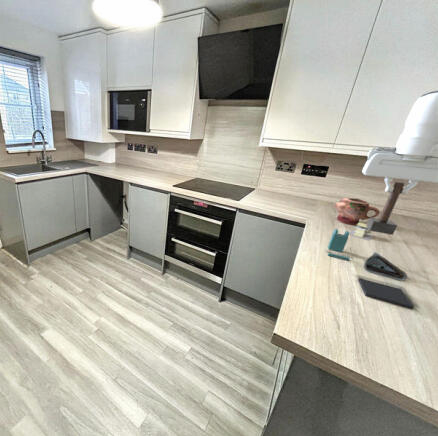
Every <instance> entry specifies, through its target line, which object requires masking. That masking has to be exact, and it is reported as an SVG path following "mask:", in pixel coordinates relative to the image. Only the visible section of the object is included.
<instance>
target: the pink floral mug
mask: <svg viewBox="0 0 438 436" xmlns="http://www.w3.org/2000/svg"><path fill="white" fill-rule="evenodd" d="M334 208H335V209H336V210H337V213H338V215H337V218H336V220H337V221H338V222H340V223H342V224H346V225H350V226H355V225H356V226H357V224H358V223H360V222H359V221H360V220H361V221H365V220H369V218H370V217H371V218H376V217H378V216H379V215H380V209H379V208H377V207H376V206H373V205H369V202H368V201H366V200H363V199H361V198H354V197H344V198H341V199H340V200H339V201H338V202H336V203H334ZM370 211H373V212H374V215H371V216H368V212H370Z"/></svg>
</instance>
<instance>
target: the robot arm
mask: <svg viewBox="0 0 438 436" xmlns="http://www.w3.org/2000/svg"><path fill="white" fill-rule="evenodd" d="M366 158H367V160H366V162H365V163H364V166H363V167H362V170H361V172H362V174H363V175H364V176H368V177H377V178H384V183H385V186H386V187H385V189H384V192H386V193H391V192H393V189H394V187H393V186H394V185H393V186H392V184H391V182H393V181H394V179H397V180H406V181H408V183H409V184H408V185H406V186H405V187H403V188H402V190H401V193H400V195H401V194H402V195H408V194H409V191H410V190H411V189H413V188H415V187H416V186H417V185H418V183H419V182H425V183H435V184H438V90H433V91H430V92H427V93H424V94H422V95H421V96H419V97H418V98H417V100H416V101H415V102H414V104H413V106H412V107H411V110H410V112H409V114H408V116H407V118H406V120H405V123H404V129H403V132H402V133H401V134H400V136H399V138H398V139H397V142H396V145H395V147H391V146H390V147H389V146H387V147H385V146H384V147H383V146H376V147H374V148H372V149H370V150H369V151H368V153H367V157H366Z"/></svg>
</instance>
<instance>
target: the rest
mask: <svg viewBox="0 0 438 436" xmlns="http://www.w3.org/2000/svg"><path fill="white" fill-rule="evenodd" d="M349 232H350V231H348V230H345V231H344V234H341V233H339V229H338V228H334V230H333V232H332V233H331V237H330V240H329V242H328V245H327V249H328V250H330V251H334V252H338V253H343V252H344V249H345V247H346V245H347V242H348V239H349V236H350V234H349ZM327 256H328V257H332V258H335V259H341V260H344V261H350V257H348V256H344V255H340V254H335V253H331V252H328V254H327Z"/></svg>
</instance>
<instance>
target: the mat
mask: <svg viewBox="0 0 438 436" xmlns="http://www.w3.org/2000/svg"><path fill="white" fill-rule="evenodd" d="M357 281H358V284H359V286H360V287H361V290H362V292H363V294H364V296H365V297H367V298H371V299H374V300H378V301H382V302H385V303H389V304H392V305H396V306H399V307H402V308H406V309H409V310H413V309H414V306H415V305H413V303H412V302H411V301H410V299H409V298H408V297H407V295H406V294H405V293H404V291H403V290H402V289H401V288H399V287H395V286H391V285H388V284H384V283H380V282H376V281H372V280H369V279H365V278H361V277H358V279H357Z"/></svg>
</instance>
